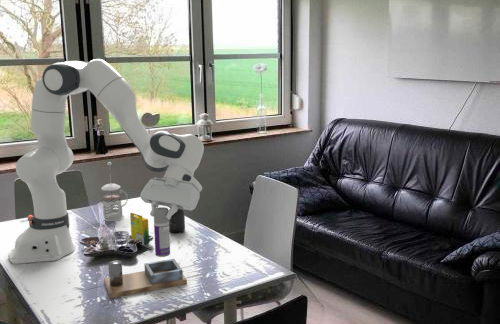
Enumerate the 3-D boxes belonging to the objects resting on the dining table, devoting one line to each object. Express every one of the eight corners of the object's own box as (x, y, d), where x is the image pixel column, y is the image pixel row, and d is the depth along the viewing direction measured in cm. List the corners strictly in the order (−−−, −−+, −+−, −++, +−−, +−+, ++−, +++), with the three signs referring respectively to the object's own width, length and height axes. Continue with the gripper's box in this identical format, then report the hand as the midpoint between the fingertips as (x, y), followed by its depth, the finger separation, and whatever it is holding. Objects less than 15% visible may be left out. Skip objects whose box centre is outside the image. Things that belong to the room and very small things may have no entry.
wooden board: (110, 298, 161) (109, 284, 160) (104, 282, 171) (103, 269, 170) (186, 283, 170) (186, 270, 169) (176, 269, 181) (176, 257, 180)
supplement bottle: (188, 232, 216) (187, 203, 213) (172, 235, 212) (171, 206, 209) (180, 227, 221) (179, 199, 219) (165, 230, 218) (164, 202, 215)
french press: (103, 214, 238) (99, 159, 233) (129, 213, 240) (126, 159, 234) (99, 221, 229) (95, 165, 223) (127, 220, 230) (123, 164, 224)
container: (153, 252, 172) (151, 208, 169) (168, 250, 174) (166, 206, 171) (157, 257, 168) (155, 212, 165) (171, 255, 170) (170, 210, 166)
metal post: (111, 287, 164) (109, 266, 163) (109, 282, 168) (107, 261, 166) (124, 285, 166) (122, 264, 164) (121, 280, 169) (120, 259, 168)
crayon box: (149, 243, 204) (148, 214, 201) (143, 245, 202) (142, 216, 199) (137, 239, 209) (135, 210, 206) (131, 241, 206) (129, 212, 204)
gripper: (147, 171, 176) (128, 207, 170) (198, 178, 167) (181, 217, 161) (156, 181, 181) (138, 216, 175) (206, 188, 171) (190, 226, 165)
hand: (159, 217), depth 168 cm, fingers closed on container, 4 cm apart
